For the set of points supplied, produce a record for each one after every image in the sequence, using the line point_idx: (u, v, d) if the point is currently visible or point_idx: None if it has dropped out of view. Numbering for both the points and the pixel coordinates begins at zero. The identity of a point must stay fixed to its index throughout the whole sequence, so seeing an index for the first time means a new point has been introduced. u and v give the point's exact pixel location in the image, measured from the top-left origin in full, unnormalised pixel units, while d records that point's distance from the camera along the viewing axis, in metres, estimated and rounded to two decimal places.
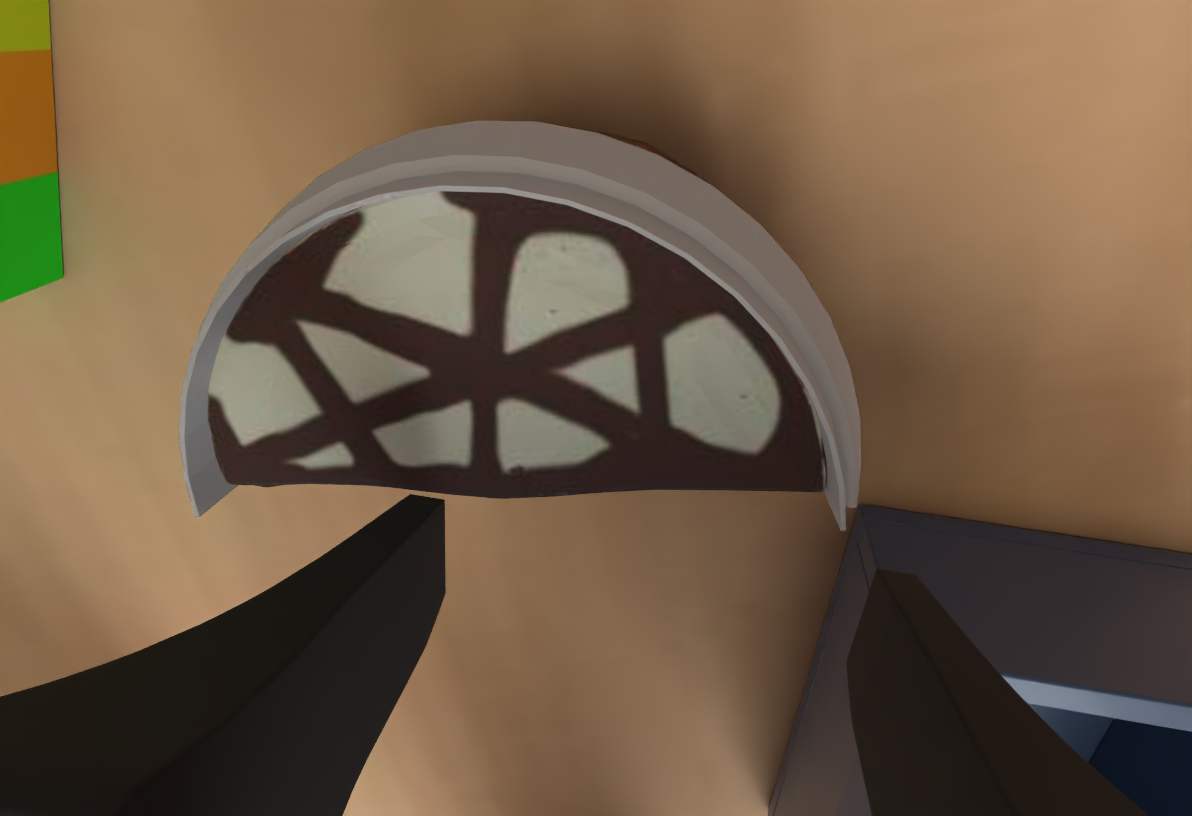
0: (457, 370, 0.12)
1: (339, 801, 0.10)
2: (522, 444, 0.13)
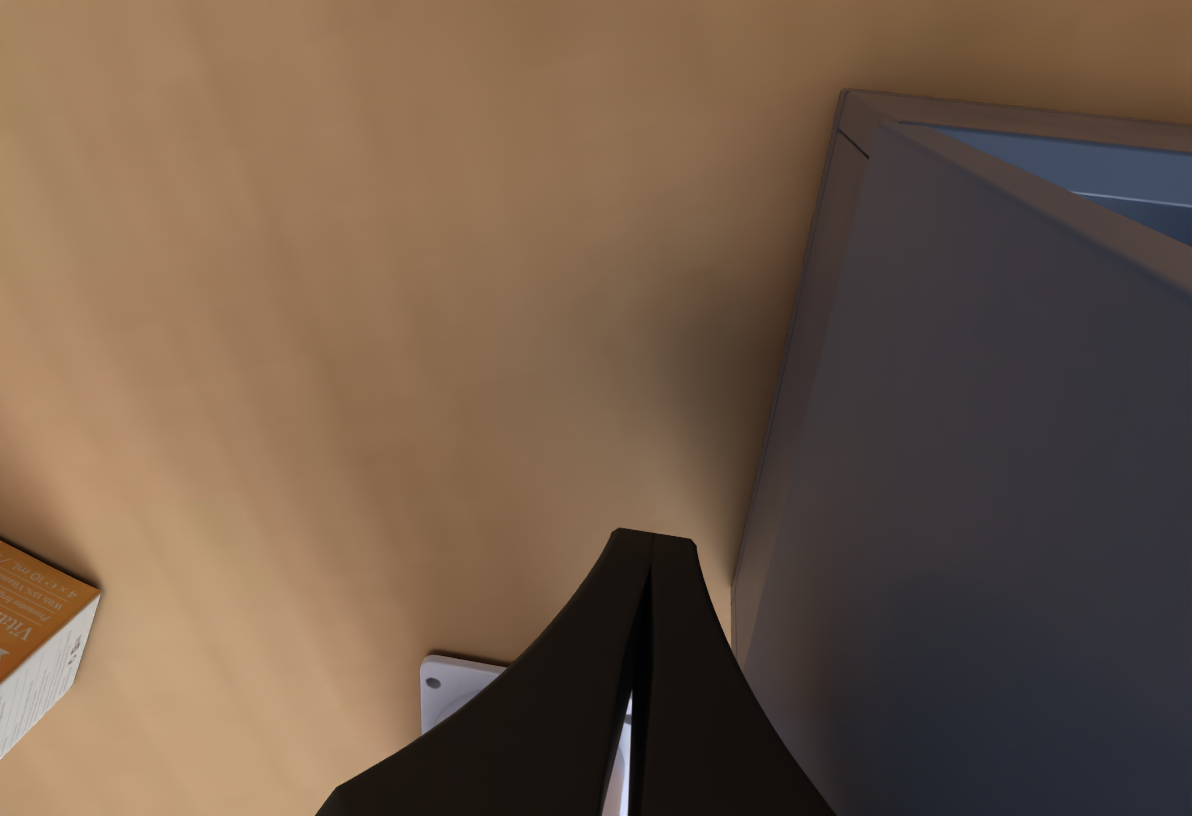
0: None
1: None
2: None
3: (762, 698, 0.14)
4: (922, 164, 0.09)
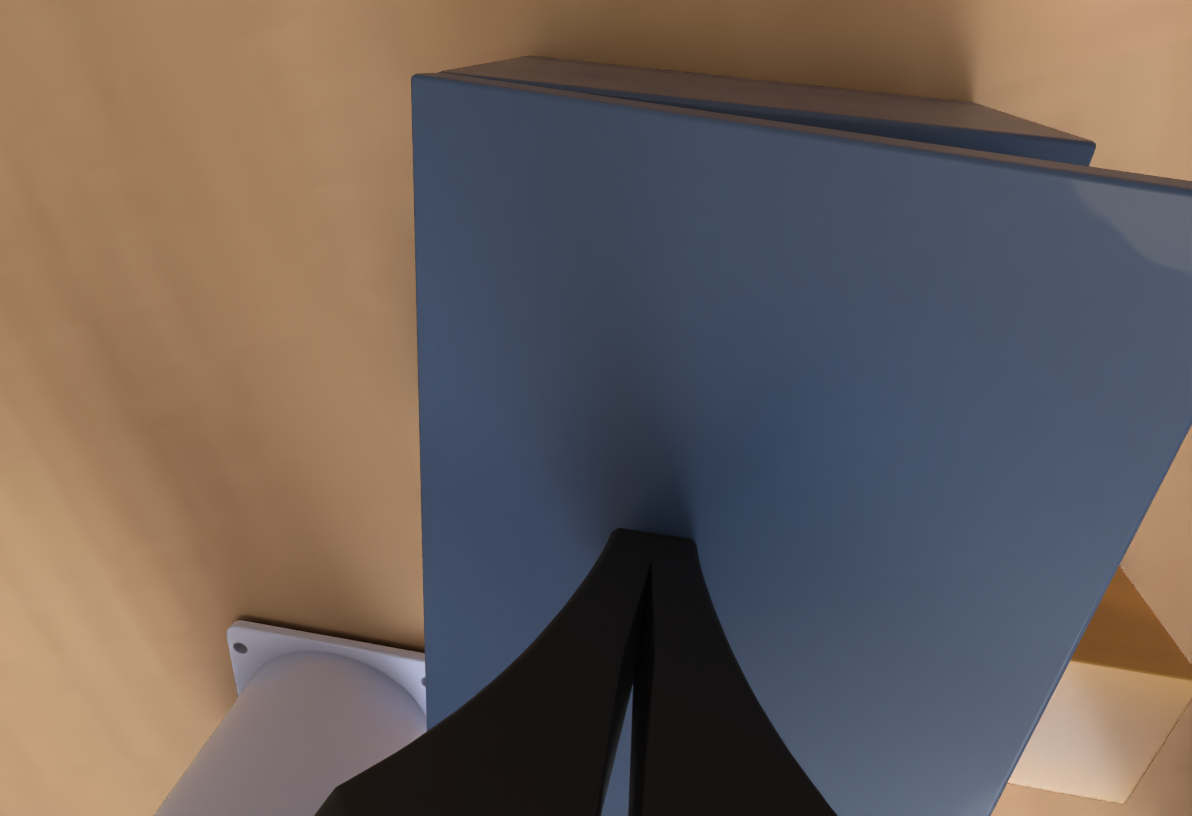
0: None
1: None
2: None
3: (501, 613, 0.15)
4: (560, 110, 0.10)
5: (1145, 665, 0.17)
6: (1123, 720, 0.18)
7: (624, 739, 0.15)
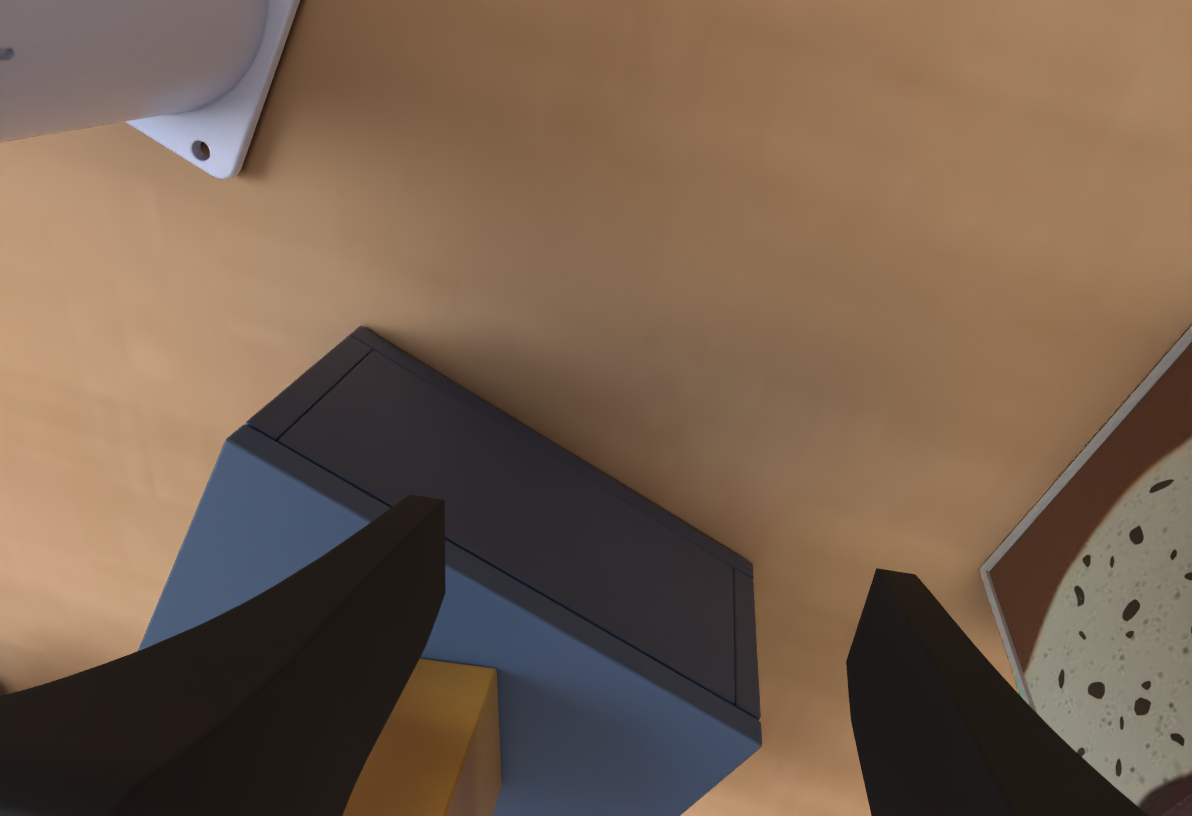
0: None
1: (339, 800, 0.10)
2: None
3: None
4: (695, 796, 0.20)
5: None
6: None
7: None
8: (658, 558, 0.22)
